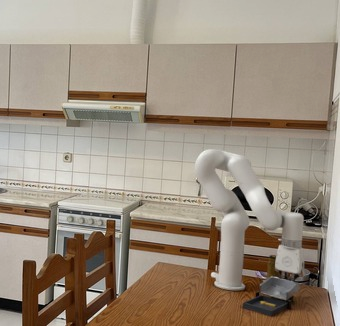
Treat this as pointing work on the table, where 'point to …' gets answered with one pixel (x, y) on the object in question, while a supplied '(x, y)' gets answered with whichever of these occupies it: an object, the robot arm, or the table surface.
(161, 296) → the table surface
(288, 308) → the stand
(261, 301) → the key
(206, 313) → the table surface
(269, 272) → the condiment
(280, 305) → the tray
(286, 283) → the scoop
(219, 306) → the table surface
